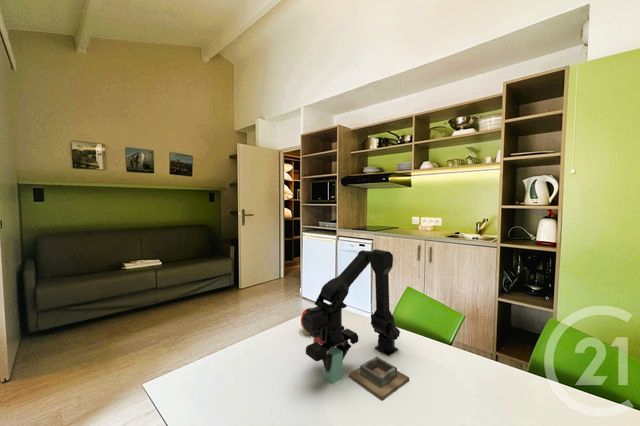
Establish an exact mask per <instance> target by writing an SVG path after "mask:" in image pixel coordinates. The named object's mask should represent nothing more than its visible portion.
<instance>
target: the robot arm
mask: <svg viewBox="0 0 640 426" xmlns="http://www.w3.org/2000/svg"><path fill="white" fill-rule="evenodd" d="M393 263H394V255H393V253H391V251H389V250H382V249H378V248H375V249H373V250H364V249H362V250H360V251H358V253H357V255H356V257H354V258H353V259H352V260H351V262H350V263H349V264H348V265H347V266H346V268H344V270H342V271H341V273H340V274H339V275H338V276H337V277H333V278H332V279H330V280H328V281H326V283H325V284H324V285H323V286H322V287H321V290H320V293H319V294H318V297H317V298H316V300H315V302H314V305H315V307H308V308H309V309H308V308H306V309H305V310H306V313H305V314H304V315H303V318H302V322H303V326H304V328H305V330H306V331H307V332H310V334H309V335H310V337H311V338H313V337H315V338H317V337H319V338H320V340H321V341H325V343H323V344H322V345H320V344H319V343H317V342H315V343H314V342H313V343H310V344H308V345H307V346H306V347H305V355H307V356H308V357H309V358H311V359H312V360H313V361H314V362H321V360H322V363H323V367H324V366H325V369H326V371H327V372H329V371H330V367H331V361H332V355H331V354H329V351H330V349H331V348H333V347H336V348H338V349H339V350H341V351H343V360H344V359H345V357H346V355H347V353H348V352H349V350H350V349H351V348H352V345H355V344H357V343H358V342H359V335H358V333H357V332H355V331H353V330H351V329H349V328H346V329H345V326H344V325H342V324H343V323H342V321H343V319H342V318H343V315H342V313H343V312H342V311H343V309H345V308H347V307H348V305H347V304H346V303H344V301H345V299H346V298H347V296H348V294H349V289H350V287H351V285H352V284H353V283H354V282H355V280H357V278H358V277H359V276H361V274H362V272H363V271H364V270H365V269H366V268H367V266H369V264H370V267H371V268H372V270H373V272H374V276H375V277H374V282H375V307H376V308H375V311H374V312H373V313H372V314H370V320H371V321H370V325H371V327H372V328H373V331H374V332H375V333H377V334H378V336H377V337H378V338H377V339H378V340H377V345H376V346H375V347H374V350H376V351H378V352H380V353H382V354H384V355H386V356H390V355H393V354H394V353H396V352H398V351H399V348H398V347H396V346H395V344H396V343H395V342H396V340H398V338H400V333H401V331H400V329H399V328H397V326H396V324H395V323H396V322H395V318H394V316H393V314H392V312H391V310H390V283H389V277H390V276H389V275H390V272H391V270H392V269H393ZM325 301H326V302H325ZM327 302H328V303H327ZM305 330H304V331H305ZM306 331H305V332H306ZM307 332H306V333H307ZM349 342H350V343H349ZM351 344H352V345H351Z"/></svg>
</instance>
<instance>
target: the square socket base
mask: <svg viewBox="0 0 640 426" xmlns="http://www.w3.org/2000/svg"><path fill="white" fill-rule="evenodd" d="M347 376H348V378H349V379H351V380H352V381H353V382H355V383H356V384H358V385H359V386H361V387H362V388H364V389H365V390H366V391H368V392H369V393H371V395H374V396H375V397H376V398H378V399H379V400H380V401H384V400H385V399H386V398H387V397H389V396H390V395H392V394H393V393H394V392H396V391H398V389H400V388H401V387H403V386H404V385H405V384H407V383H408V382H410V377H409V376H407V375H406V374H404V373H403V372H401V371H399V370H398V367H396V366H394V365H393V364H391V363H389V362H387V361H386V360H384V359H382V358H381V357H379V356H374V357H373V358H371V359H369V360H368V361H365V362H364V363H362V364H361V365H359V367H357V368H356V369H355V370H353V371H351V372H350V373H347Z"/></svg>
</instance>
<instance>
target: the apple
mask: <svg viewBox="0 0 640 426" xmlns="http://www.w3.org/2000/svg"><path fill="white" fill-rule="evenodd" d="M309 308H310V307H308V308H307V309H309ZM305 313H306V309H304V310H303V311H302V313H301V316H300V324H301V327H302V329H303V330H304V332H305V333H307V334H309V335H310V332H307V331H306V330H305V328H304V326H303V322H302V318H303V315H304V314H305Z"/></svg>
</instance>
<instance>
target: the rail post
mask: <svg viewBox="0 0 640 426" xmlns="http://www.w3.org/2000/svg"><path fill="white" fill-rule="evenodd" d="M329 354H331V355H332V361H331V367H330V371H329V372H327V371H326V369H325V366H324V365H323V377H324V378H325V379H326V380H328V382H330V383H331V384H335V383H337V382H338V381H341V380H342V379H343V378H344V359H343V351H341V350H339V349H338V348H336V346H335V347H333V348H331V349H330V351H329Z"/></svg>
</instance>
